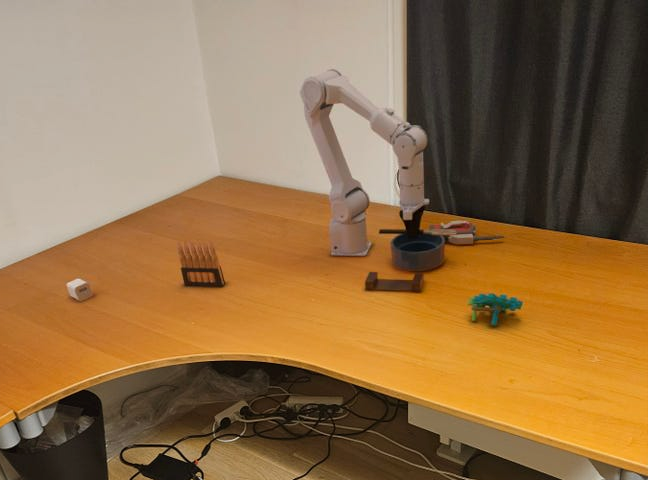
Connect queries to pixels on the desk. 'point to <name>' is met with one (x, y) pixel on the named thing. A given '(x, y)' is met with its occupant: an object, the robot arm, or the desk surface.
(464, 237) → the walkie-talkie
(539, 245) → the desk surface
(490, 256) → the desk surface
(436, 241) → the bowl
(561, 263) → the desk surface
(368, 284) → the cutlery rest
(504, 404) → the desk surface
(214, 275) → the ammunition clip
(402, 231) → the fork
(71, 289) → the usb wall charger
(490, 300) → the teal knobby toy
